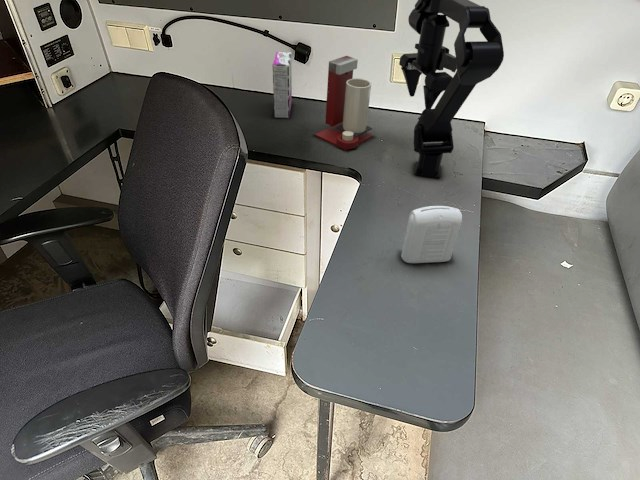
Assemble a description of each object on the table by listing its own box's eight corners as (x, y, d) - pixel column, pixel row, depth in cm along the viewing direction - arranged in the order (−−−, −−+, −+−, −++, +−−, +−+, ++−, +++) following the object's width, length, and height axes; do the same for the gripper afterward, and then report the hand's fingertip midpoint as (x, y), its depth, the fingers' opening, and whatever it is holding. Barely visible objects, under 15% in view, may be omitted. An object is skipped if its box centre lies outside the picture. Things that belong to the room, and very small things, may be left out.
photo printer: (446, 249, 99) (459, 200, 91) (453, 262, 96) (468, 213, 88) (398, 251, 97) (408, 202, 90) (404, 265, 94) (414, 215, 86)
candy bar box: (276, 103, 152) (275, 51, 142) (291, 104, 152) (292, 51, 142) (273, 118, 144) (271, 63, 133) (289, 119, 144) (289, 64, 133)
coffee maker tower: (372, 129, 135) (380, 66, 124) (356, 137, 131) (362, 73, 120) (341, 116, 141) (346, 55, 130) (325, 123, 137) (328, 61, 126)
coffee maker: (376, 138, 136) (377, 130, 135) (348, 153, 129) (349, 145, 127) (341, 123, 143) (341, 116, 141) (313, 136, 135) (313, 128, 134)
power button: (355, 139, 131) (355, 133, 130) (348, 142, 129) (348, 136, 128) (346, 135, 132) (347, 129, 131) (339, 138, 131) (340, 133, 129)
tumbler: (369, 131, 133) (375, 86, 125) (347, 134, 132) (351, 88, 123) (361, 121, 138) (366, 77, 130) (339, 123, 136) (343, 79, 128)
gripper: (480, 52, 110) (464, 115, 120) (441, 29, 124) (430, 87, 134) (438, 55, 107) (425, 119, 117) (403, 31, 121) (394, 90, 131)
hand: (419, 103), depth 125 cm, fingers open, 9 cm apart
